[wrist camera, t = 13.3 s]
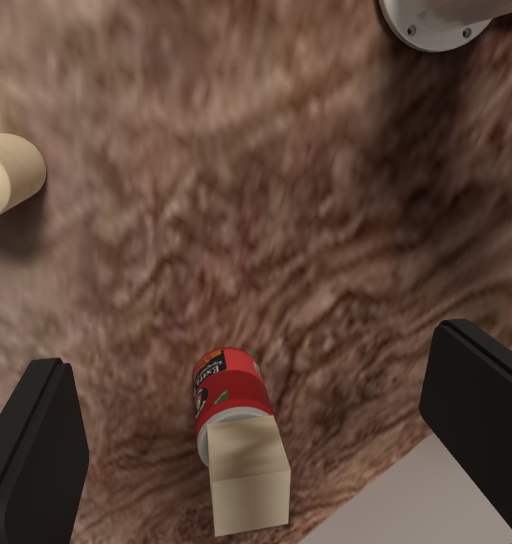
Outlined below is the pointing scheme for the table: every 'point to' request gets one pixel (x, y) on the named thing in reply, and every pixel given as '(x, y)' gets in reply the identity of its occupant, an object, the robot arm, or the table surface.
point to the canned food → (227, 392)
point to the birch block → (247, 475)
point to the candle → (19, 170)
